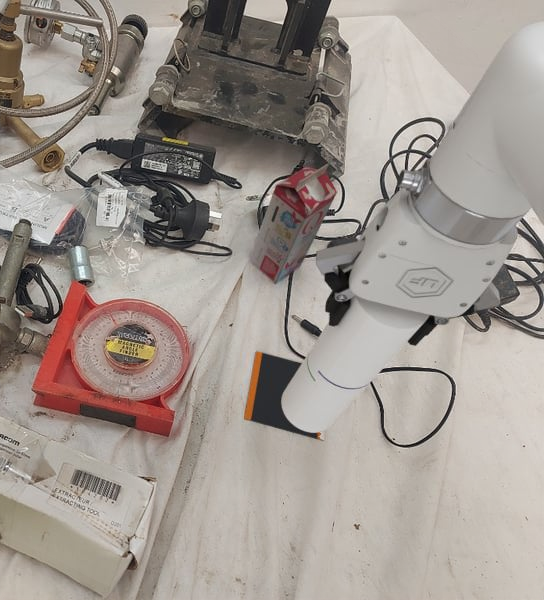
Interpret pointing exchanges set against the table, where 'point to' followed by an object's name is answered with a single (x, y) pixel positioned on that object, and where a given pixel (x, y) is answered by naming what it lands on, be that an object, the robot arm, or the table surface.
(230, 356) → the table surface
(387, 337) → the cylindrical container
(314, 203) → the juice carton
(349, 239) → the usb drive
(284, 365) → the mat
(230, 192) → the table surface
